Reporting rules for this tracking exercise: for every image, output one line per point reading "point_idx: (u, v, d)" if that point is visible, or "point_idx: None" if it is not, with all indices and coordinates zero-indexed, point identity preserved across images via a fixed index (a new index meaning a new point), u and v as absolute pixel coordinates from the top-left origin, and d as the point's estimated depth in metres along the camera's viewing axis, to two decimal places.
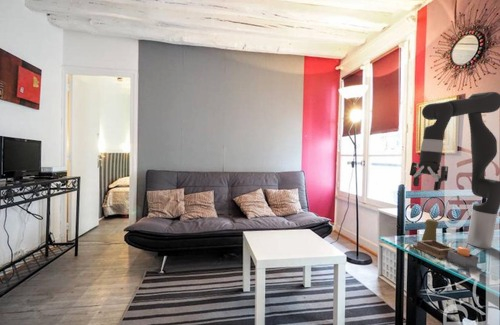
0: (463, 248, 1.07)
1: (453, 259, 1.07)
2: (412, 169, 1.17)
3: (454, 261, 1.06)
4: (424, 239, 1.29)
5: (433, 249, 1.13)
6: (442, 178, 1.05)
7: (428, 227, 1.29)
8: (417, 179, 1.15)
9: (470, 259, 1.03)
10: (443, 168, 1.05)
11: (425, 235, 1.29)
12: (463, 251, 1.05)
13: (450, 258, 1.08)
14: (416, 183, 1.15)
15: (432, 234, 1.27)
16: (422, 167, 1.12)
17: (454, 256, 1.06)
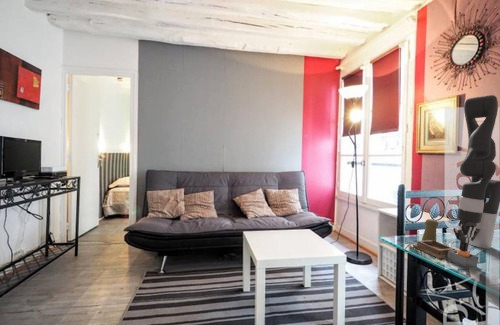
0: None
1: (453, 259, 1.07)
2: (462, 235, 1.04)
3: (454, 261, 1.06)
4: (424, 239, 1.29)
5: (433, 249, 1.13)
6: (473, 238, 1.06)
7: (428, 227, 1.29)
8: None
9: (470, 259, 1.03)
10: (478, 231, 1.07)
11: (425, 235, 1.29)
12: (463, 253, 1.05)
13: (450, 258, 1.08)
14: None
15: (432, 234, 1.27)
16: (470, 228, 1.03)
17: (454, 256, 1.06)
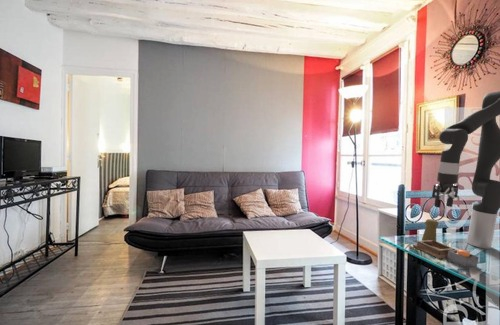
0: (463, 251, 1.07)
1: (453, 259, 1.07)
2: (439, 192, 1.18)
3: (454, 261, 1.06)
4: (424, 239, 1.29)
5: (433, 249, 1.13)
6: (456, 195, 1.23)
7: (428, 227, 1.29)
8: None
9: (470, 259, 1.03)
10: (457, 187, 1.23)
11: (425, 235, 1.29)
12: (463, 254, 1.05)
13: (450, 258, 1.08)
14: None
15: (432, 234, 1.27)
16: (448, 189, 1.19)
17: (454, 256, 1.06)
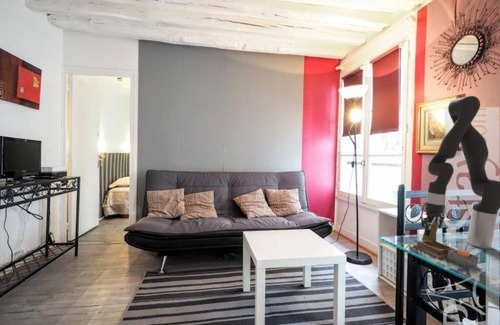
0: (463, 251, 1.07)
1: (453, 259, 1.07)
2: (427, 223, 1.26)
3: (454, 261, 1.06)
4: (424, 239, 1.29)
5: (433, 249, 1.13)
6: (440, 226, 1.30)
7: None
8: None
9: (470, 259, 1.03)
10: (443, 218, 1.30)
11: (425, 235, 1.29)
12: (463, 254, 1.05)
13: (450, 258, 1.08)
14: None
15: (432, 234, 1.27)
16: (434, 218, 1.27)
17: (454, 256, 1.06)
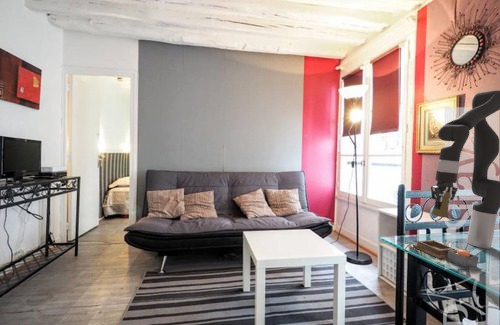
0: (463, 251, 1.07)
1: (453, 259, 1.07)
2: (438, 194, 1.12)
3: (454, 261, 1.06)
4: (434, 212, 1.15)
5: (433, 249, 1.13)
6: (453, 198, 1.16)
7: None
8: None
9: (470, 259, 1.03)
10: (456, 190, 1.16)
11: (436, 208, 1.15)
12: (463, 254, 1.05)
13: (450, 258, 1.08)
14: None
15: (444, 206, 1.13)
16: (447, 188, 1.13)
17: (454, 256, 1.06)
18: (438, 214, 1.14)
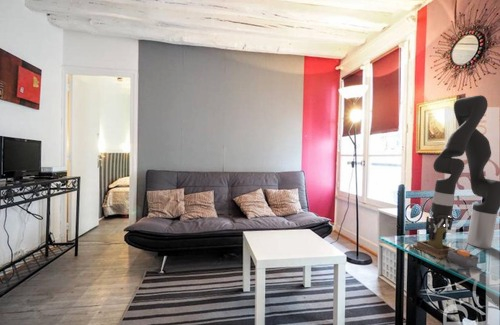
0: (463, 251, 1.07)
1: (453, 259, 1.07)
2: (432, 225, 1.13)
3: (454, 261, 1.06)
4: None
5: (433, 249, 1.13)
6: (450, 228, 1.17)
7: None
8: None
9: (470, 259, 1.03)
10: (452, 219, 1.17)
11: (430, 242, 1.16)
12: (463, 254, 1.05)
13: (450, 258, 1.08)
14: None
15: (439, 241, 1.14)
16: (442, 220, 1.14)
17: (454, 256, 1.06)
18: None
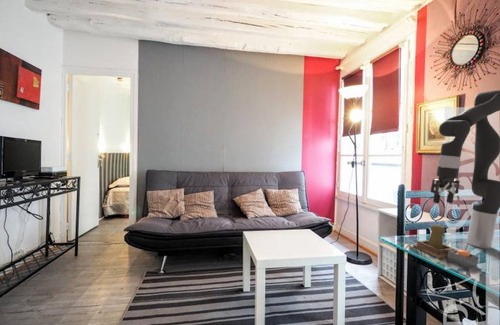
0: (463, 251, 1.07)
1: (453, 259, 1.07)
2: (438, 187, 1.12)
3: (454, 261, 1.06)
4: None
5: (433, 249, 1.13)
6: (457, 191, 1.16)
7: (434, 234, 1.16)
8: None
9: (470, 259, 1.03)
10: None
11: (430, 242, 1.16)
12: (463, 254, 1.05)
13: (450, 258, 1.08)
14: None
15: (439, 241, 1.14)
16: (448, 184, 1.12)
17: (454, 256, 1.06)
18: None
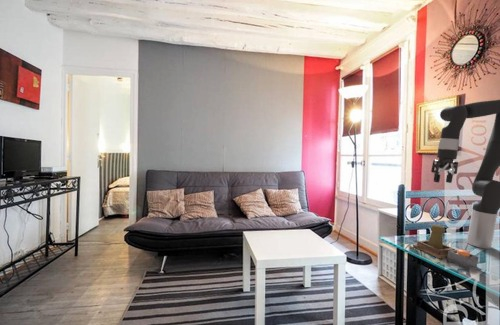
0: (463, 251, 1.07)
1: (453, 259, 1.07)
2: (438, 167, 1.21)
3: (454, 261, 1.06)
4: None
5: (433, 249, 1.13)
6: (456, 172, 1.26)
7: (434, 234, 1.16)
8: None
9: (470, 259, 1.03)
10: (457, 163, 1.25)
11: (430, 242, 1.16)
12: (463, 254, 1.05)
13: (450, 258, 1.08)
14: None
15: (439, 241, 1.14)
16: (447, 164, 1.22)
17: (454, 256, 1.06)
18: None
